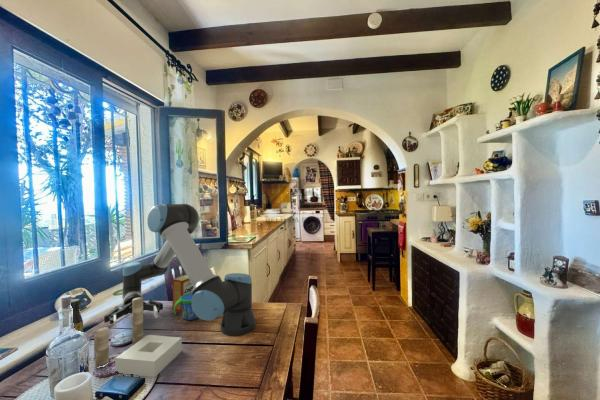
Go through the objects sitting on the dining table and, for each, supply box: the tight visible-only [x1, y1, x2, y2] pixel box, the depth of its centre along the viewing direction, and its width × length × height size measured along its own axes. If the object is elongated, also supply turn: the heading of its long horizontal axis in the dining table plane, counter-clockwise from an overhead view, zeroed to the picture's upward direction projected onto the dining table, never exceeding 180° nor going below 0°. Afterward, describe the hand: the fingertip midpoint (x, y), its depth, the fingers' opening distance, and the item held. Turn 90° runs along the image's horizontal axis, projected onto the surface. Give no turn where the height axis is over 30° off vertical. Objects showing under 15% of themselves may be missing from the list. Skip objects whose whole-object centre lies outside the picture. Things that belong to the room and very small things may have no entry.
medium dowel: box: [95, 326, 110, 368], centre depth 85 cm, size 4×4×12 cm
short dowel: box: [93, 334, 96, 360], centre depth 90 cm, size 4×4×8 cm
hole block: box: [114, 334, 183, 378], centre depth 87 cm, size 14×14×5 cm
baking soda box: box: [172, 274, 193, 313], centre depth 132 cm, size 10×6×16 cm
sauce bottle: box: [70, 298, 84, 333], centre depth 90 cm, size 6×6×20 cm
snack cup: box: [173, 293, 199, 321], centre depth 120 cm, size 16×10×10 cm
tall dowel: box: [131, 296, 144, 346], centre depth 97 cm, size 4×4×18 cm
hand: (136, 319), depth 97 cm, fingers open, 13 cm apart
